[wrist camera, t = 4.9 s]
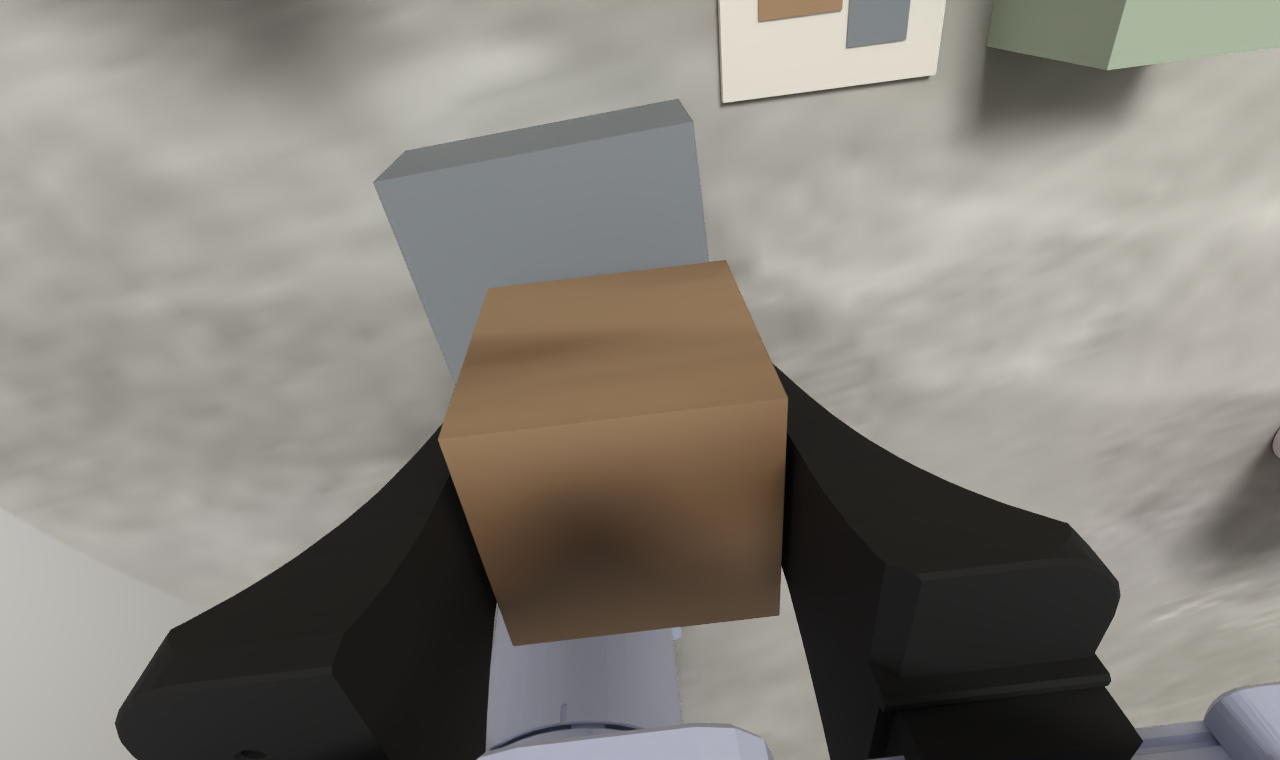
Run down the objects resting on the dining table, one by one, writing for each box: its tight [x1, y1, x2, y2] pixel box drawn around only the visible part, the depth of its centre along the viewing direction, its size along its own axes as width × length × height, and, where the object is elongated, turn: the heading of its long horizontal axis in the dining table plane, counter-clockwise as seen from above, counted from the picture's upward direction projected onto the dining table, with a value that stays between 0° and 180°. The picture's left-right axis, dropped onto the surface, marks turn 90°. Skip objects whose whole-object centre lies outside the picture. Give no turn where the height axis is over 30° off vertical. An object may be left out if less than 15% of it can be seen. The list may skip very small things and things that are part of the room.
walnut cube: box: [438, 260, 788, 646], centre depth 12 cm, size 5×5×5 cm
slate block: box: [373, 99, 709, 386], centre depth 19 cm, size 8×8×4 cm
